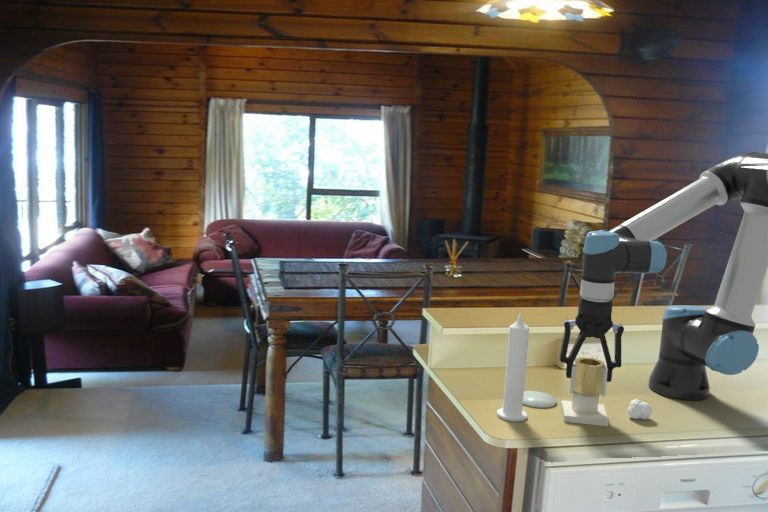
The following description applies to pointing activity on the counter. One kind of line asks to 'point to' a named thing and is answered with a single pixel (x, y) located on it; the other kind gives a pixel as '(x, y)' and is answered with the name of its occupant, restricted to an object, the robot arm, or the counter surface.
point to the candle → (515, 373)
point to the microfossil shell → (639, 410)
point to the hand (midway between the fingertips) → (586, 392)
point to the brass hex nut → (589, 376)
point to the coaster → (538, 399)
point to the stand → (584, 410)
